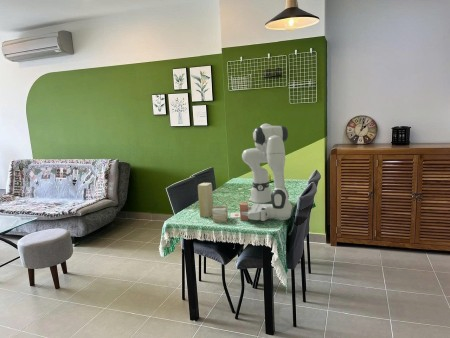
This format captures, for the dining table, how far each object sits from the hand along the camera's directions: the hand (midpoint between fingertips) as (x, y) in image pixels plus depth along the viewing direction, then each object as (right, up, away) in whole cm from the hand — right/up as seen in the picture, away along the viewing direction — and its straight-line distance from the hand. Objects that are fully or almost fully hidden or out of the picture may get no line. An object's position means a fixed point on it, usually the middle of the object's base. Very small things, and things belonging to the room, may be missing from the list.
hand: (243, 210), depth 209 cm
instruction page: (-4, -4, +10) cm, 11 cm away
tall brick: (+1, -5, +1) cm, 6 cm away
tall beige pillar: (-23, -5, +13) cm, 27 cm away
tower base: (-14, -6, +2) cm, 15 cm away
